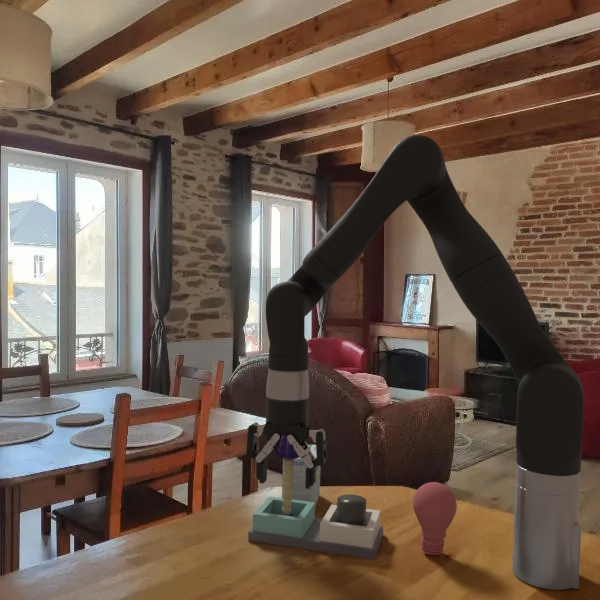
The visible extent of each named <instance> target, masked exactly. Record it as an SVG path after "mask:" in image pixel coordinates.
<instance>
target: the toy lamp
mask: <svg viewBox="0 0 600 600" xmlns="http://www.w3.org/2000/svg"><path fill="white" fill-rule="evenodd" d="M288 435H289V434H282V436H281V438H280V440H279V443H278V447H277V450H275V455H276V456H277V458H280V459H282V460H283V459H284V462H285V465H284V471H285V472H284V482H283V488H284V490H283V500H282V504H283V507H282V513H280V514H279V515H284V516H292V517H296V516H295V515H294V514H292V513H291V504H292V498H291V497H292V487H293V482H292V479H293V473H292V472H293V461H294V459H296V458H299V455H298V454H297V452H296V451H295V449H294V447H293V445H291V444H290V443H289V441H288V440H287V436H288Z"/></svg>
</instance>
